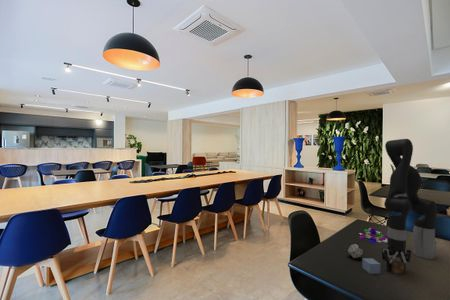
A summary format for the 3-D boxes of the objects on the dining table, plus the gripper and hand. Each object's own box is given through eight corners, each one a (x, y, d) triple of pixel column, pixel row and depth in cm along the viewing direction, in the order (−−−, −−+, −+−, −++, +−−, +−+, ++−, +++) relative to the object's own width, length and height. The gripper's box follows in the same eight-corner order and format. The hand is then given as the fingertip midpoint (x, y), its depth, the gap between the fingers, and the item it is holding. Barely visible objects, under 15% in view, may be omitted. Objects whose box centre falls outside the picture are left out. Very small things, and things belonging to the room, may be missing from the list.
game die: (358, 265, 123) (369, 256, 117) (343, 258, 124) (353, 249, 118) (357, 252, 130) (366, 243, 124) (342, 245, 131) (351, 236, 125)
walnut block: (396, 268, 114) (396, 258, 114) (403, 273, 109) (404, 263, 109) (388, 268, 114) (388, 258, 114) (395, 273, 109) (395, 263, 109)
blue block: (372, 267, 114) (372, 258, 114) (380, 273, 108) (380, 263, 108) (362, 267, 114) (362, 258, 114) (369, 273, 108) (369, 263, 108)
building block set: (385, 248, 139) (385, 241, 139) (352, 236, 156) (352, 230, 156) (401, 240, 152) (401, 233, 152) (369, 230, 169) (369, 224, 169)
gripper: (404, 234, 115) (403, 265, 115) (377, 233, 115) (376, 265, 115) (416, 240, 108) (416, 273, 108) (388, 239, 107) (387, 273, 107)
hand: (395, 269), depth 111 cm, fingers open, 6 cm apart
